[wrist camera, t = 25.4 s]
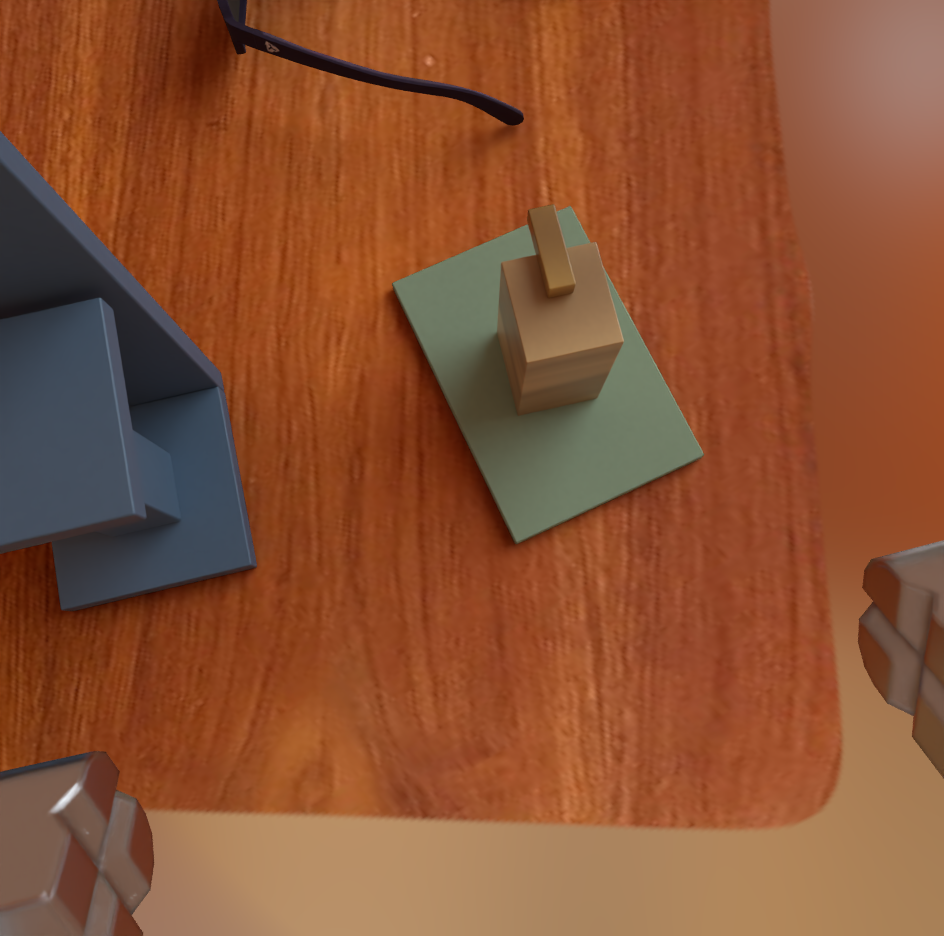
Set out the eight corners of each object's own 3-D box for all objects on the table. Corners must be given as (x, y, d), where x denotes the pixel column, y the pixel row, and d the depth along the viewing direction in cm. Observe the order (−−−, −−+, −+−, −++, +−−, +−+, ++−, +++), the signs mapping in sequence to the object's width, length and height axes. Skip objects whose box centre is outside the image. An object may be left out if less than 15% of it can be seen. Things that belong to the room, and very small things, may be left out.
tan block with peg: (597, 398, 38) (628, 333, 30) (517, 416, 38) (527, 355, 30) (567, 285, 39) (589, 195, 31) (489, 302, 39) (492, 216, 31)
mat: (701, 458, 38) (705, 455, 37) (515, 545, 37) (516, 543, 36) (569, 211, 40) (570, 205, 40) (392, 288, 39) (391, 282, 39)
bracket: (257, 567, 37) (8, 470, 17) (71, 611, 36) (-399, 563, 17) (221, 371, 39) (-42, 82, 19) (43, 412, 38) (-409, 160, 19)
